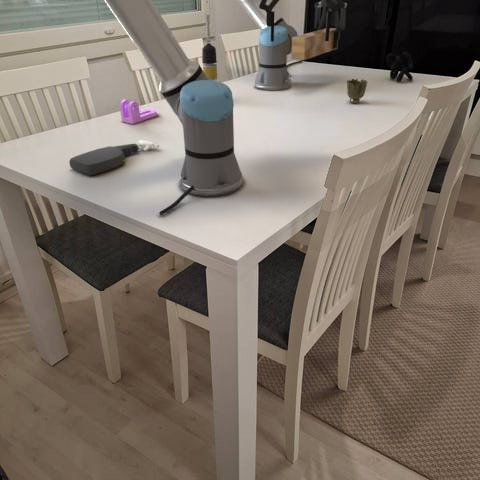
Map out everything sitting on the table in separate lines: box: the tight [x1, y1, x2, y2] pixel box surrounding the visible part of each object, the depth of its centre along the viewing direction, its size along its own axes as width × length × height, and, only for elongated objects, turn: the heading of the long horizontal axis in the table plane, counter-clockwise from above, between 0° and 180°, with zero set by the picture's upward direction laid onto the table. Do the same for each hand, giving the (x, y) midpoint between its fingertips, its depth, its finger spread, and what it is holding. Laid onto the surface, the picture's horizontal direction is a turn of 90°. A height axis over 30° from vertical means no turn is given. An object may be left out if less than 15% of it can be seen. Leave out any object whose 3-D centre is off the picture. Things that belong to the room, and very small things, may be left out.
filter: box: [201, 14, 218, 81], centre depth 171 cm, size 6×6×30 cm
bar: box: [290, 27, 339, 61], centre depth 181 cm, size 30×6×8 cm, turn 145°
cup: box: [346, 78, 368, 104], centre depth 168 cm, size 8×7×8 cm
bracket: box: [118, 99, 158, 125], centre depth 156 cm, size 13×6×7 cm, turn 143°
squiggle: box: [385, 51, 414, 83], centre depth 198 cm, size 11×10×15 cm
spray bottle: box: [68, 139, 160, 177], centre depth 124 cm, size 3×11×24 cm
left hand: (299, 40), depth 112 cm, fingers open, 13 cm apart
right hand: (328, 47), depth 191 cm, fingers closed on bar, 6 cm apart
